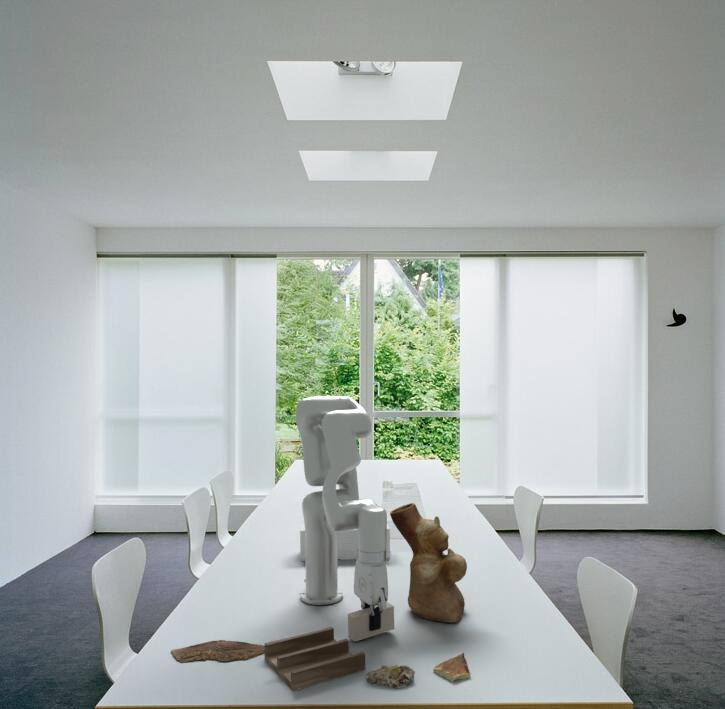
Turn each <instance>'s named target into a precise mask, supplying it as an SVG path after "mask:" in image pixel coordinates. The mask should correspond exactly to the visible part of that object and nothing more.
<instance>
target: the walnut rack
mask: <svg viewBox="0 0 725 709" xmlns="http://www.w3.org/2000/svg"><path fill="white" fill-rule="evenodd" d="M264 646H265V653H264V660H265V661H266V662H267V663H268V664H269V666H270V667H271V668H272V669H273V670H274V671H275V673H277V675H278V676H279V677H280V678H281V679H282V681H284V683H286V685H287V686H288V687H289V688H290V689H291V690H292V691H297V690H299V689H304V688H307V687H310V686H315V685H317V684H321V683H325V682H327V681H331V680H334V679H338V678H341V677H344V676H349V675H353V674H355V673H358V672H362V671H365V670H366V652H364V650H362V651H359V652H355V653H352V652H351V651H350V639H348V638H343V639H339V640H336V638H335V628H334V627H332V626H331V627H326V628H322V629H319V630H318V629H317V630H314V631H310V632H306V633H302V634H297V635H293V636H288V637H286V638H282V639H277V640H273V641H268V642H265V643H264Z"/></svg>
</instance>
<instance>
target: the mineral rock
mask: <svg viewBox="0 0 725 709" xmlns="http://www.w3.org/2000/svg"><path fill="white" fill-rule="evenodd" d="M415 674H416V672H415V670H414V668H411V667H410V665H399V666H398V664H394V665H381V667H380V668H376V669H372V670H368V671H367V673H366V677H367V678H366V681H367V682H368V683H371V684H372V685H374V684H375V685H374V686H385V685H387V687H390V688H392V689H399V688H403V687H407V686H408V684H410V683H411V682H413V680H414V678H415ZM402 686H403V687H402ZM396 687H397V688H396ZM398 687H399V688H398Z"/></svg>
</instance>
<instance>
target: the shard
mask: <svg viewBox="0 0 725 709" xmlns="http://www.w3.org/2000/svg"><path fill="white" fill-rule="evenodd" d="M432 671H433V673H435V674H437V675H439V676H441V677H443V678H445V679H447V680H449V681H451V682H454V681H455V680H462V679H470V678H471V672H470V669H469V665H468V662H467V659H466V657H465V654H464V652H462V653H461V654H458V655H456V656H455V657H452V658H451V657H450V658H449V659H447V660H444V661H442V662H441V663H439V664H437V665H435V666H434V667H433V670H432Z"/></svg>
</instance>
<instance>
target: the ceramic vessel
mask: <svg viewBox="0 0 725 709" xmlns="http://www.w3.org/2000/svg"><path fill="white" fill-rule="evenodd" d="M389 515H390V517H391V518H390V519H391V520H392V522H393V525H394V526H395V528H396V529H397V530H398V532H399V533H400V534H401V536H402V537H403V539H404V540H405V541H406V543H407V544H408V546H409V547H410V549H411V551H412V558H411V561H410V564H409V569H410V572H409V573H410V575H409V578H410V580H409V590H408V596H407V604H408V607H409V609H410V610H411V611H412V612H413V613H414V614H415V615H417V616H419V617H421V618H423V619H425V620H430V621H436V622H444V623H457V622H459V621H460V620H461V619H462V617H463V615H464V611H465V603H466V602H465V597H464V595H463V593H462V591H461V590H460V588H459V587H458V586H457V584H456V583H457V582H460V581H461V580H462V579H463V578H464V577H465V576H466V573H467V569H468V566H467V565H468V564H467V561H466V559H465V558H464V557H463V556H462V555H460V554H458V553H456V552H455V551H454V550H452V549H451V548H449V537H450V536H449V534H448V533H447V532H446V531H445V530H444V528H443V527H442V526H441V521H440V517H439V516H434V519H429V518H425V517H423V516H422V515H421V514H420V511H419V509H418V507H417V505H416V503H413V502H410V503H407V504H404V505H401V506H398V507H397V508H395V509H392V510H391V511H390V512H389ZM446 551H447V553H446V554H445V553H444V552H446Z"/></svg>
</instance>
